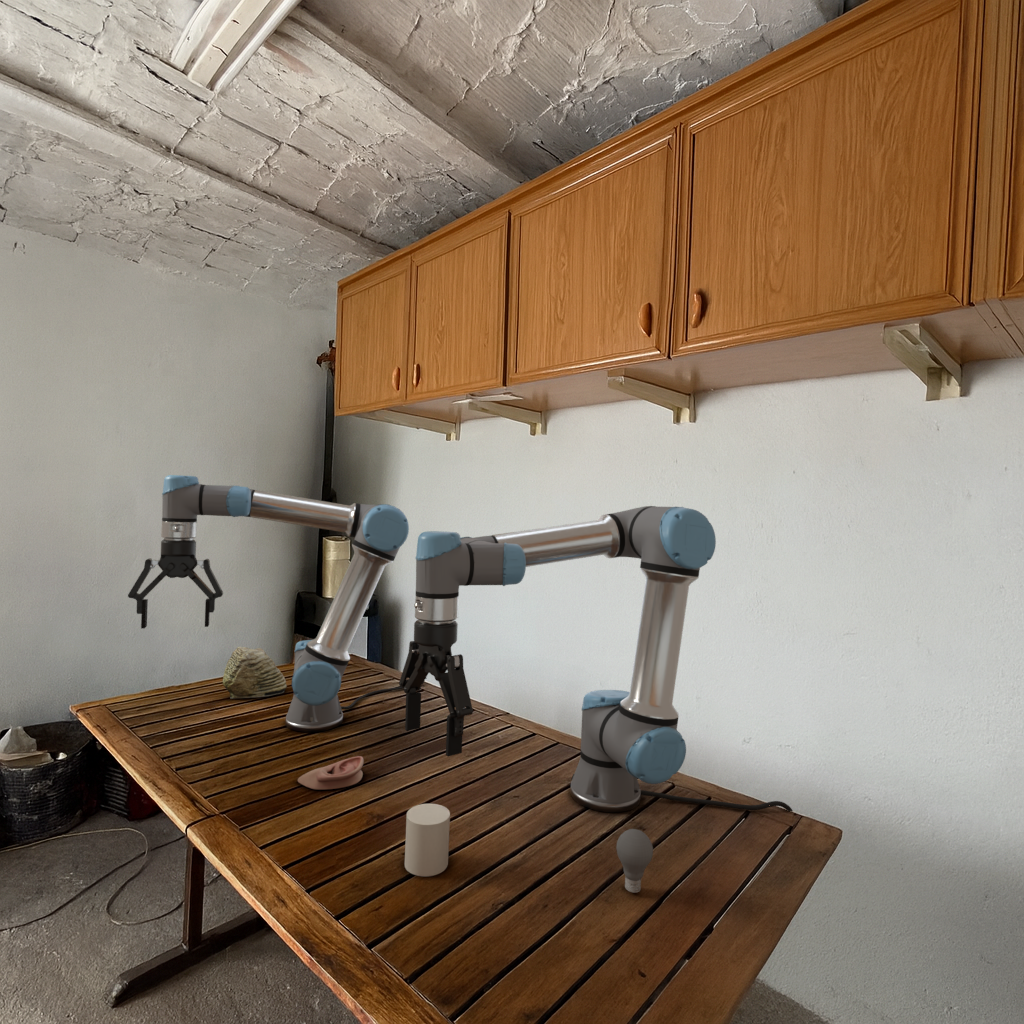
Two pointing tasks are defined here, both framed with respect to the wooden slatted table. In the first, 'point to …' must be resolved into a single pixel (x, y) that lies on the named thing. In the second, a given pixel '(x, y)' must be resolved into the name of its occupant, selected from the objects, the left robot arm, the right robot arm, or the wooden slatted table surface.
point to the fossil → (252, 674)
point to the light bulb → (634, 857)
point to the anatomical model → (334, 775)
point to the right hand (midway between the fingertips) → (432, 741)
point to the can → (427, 839)
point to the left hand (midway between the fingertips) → (175, 626)
